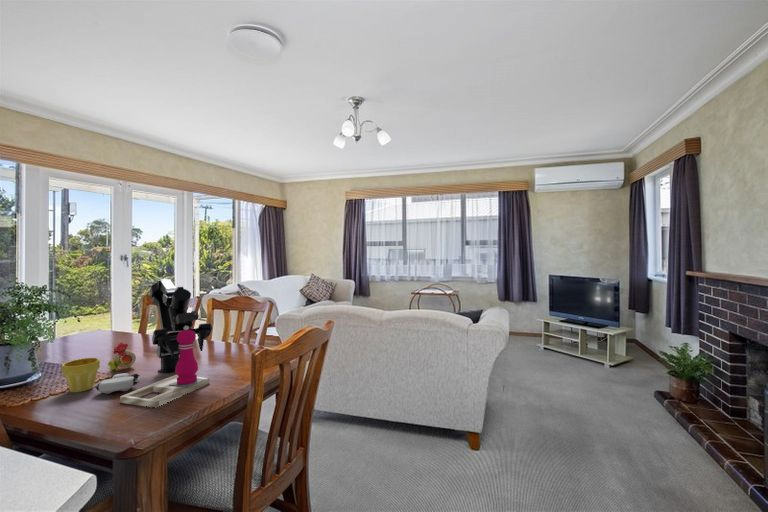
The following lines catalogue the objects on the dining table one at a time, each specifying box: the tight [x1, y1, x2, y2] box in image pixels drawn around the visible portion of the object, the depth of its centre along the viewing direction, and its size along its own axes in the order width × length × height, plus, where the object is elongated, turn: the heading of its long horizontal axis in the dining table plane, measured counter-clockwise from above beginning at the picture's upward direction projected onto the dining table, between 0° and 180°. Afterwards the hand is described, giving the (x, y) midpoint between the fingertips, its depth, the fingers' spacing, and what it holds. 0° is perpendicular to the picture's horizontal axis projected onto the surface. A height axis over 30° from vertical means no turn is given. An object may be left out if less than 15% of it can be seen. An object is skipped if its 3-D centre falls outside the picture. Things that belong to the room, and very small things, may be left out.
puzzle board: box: [119, 374, 210, 409], centre depth 127 cm, size 15×22×2 cm
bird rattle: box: [107, 342, 137, 372], centre depth 153 cm, size 6×11×9 cm
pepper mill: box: [174, 326, 199, 385], centre depth 131 cm, size 7×7×20 cm
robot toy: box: [92, 372, 141, 395], centre depth 131 cm, size 12×4×15 cm
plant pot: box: [61, 357, 101, 393], centre depth 131 cm, size 10×10×10 cm
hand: (187, 352), depth 130 cm, fingers open, 9 cm apart
